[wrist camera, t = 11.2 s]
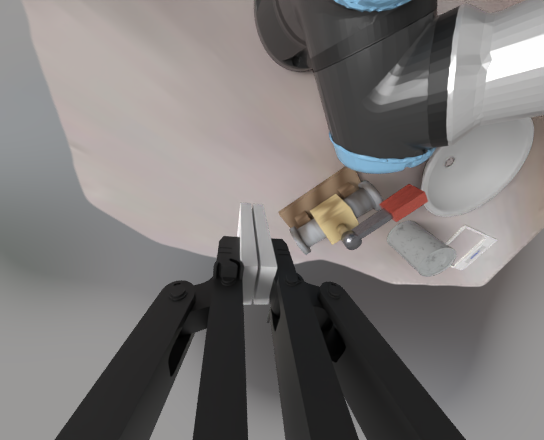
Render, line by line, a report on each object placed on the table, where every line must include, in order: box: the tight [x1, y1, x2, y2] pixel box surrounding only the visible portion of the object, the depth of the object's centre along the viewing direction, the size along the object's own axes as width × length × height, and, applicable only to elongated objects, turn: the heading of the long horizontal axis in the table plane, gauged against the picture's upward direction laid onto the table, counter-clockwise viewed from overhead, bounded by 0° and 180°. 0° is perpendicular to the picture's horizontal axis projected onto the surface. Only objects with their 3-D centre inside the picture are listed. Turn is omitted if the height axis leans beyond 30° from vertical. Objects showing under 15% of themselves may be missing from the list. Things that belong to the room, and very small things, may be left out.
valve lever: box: [341, 184, 428, 250], centre depth 37 cm, size 3×16×4 cm, turn 129°
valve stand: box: [279, 166, 383, 255], centre depth 45 cm, size 20×11×13 cm, turn 125°
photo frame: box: [445, 225, 497, 271], centre depth 67 cm, size 15×1×18 cm
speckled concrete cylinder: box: [387, 221, 456, 277], centre depth 54 cm, size 10×10×12 cm
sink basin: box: [421, 117, 534, 217], centre depth 46 cm, size 24×24×7 cm
